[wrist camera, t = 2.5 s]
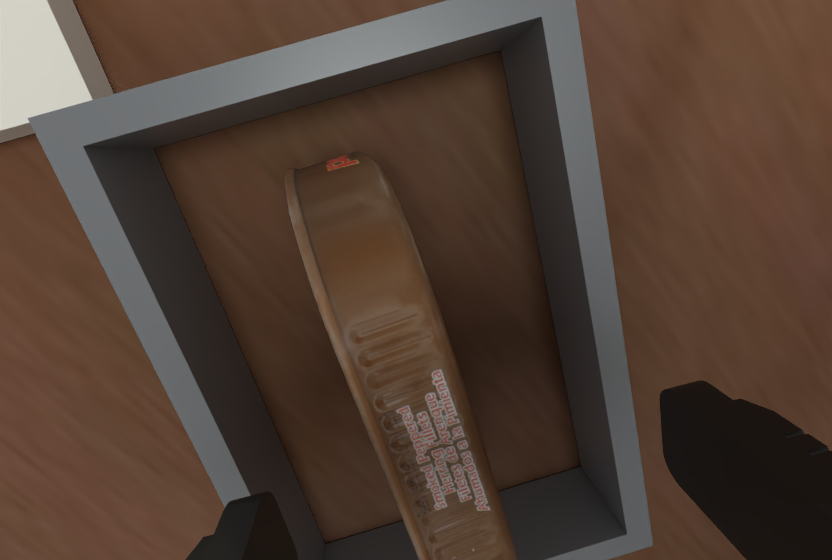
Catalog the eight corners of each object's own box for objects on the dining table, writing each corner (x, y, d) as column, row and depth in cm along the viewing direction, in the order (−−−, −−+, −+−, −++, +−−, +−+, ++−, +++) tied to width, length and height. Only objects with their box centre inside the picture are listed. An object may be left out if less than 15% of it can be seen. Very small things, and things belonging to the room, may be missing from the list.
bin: (521, 12, 16) (570, -35, 12) (603, 476, 22) (653, 545, 18) (113, 127, 15) (27, 118, 11) (312, 565, 21) (299, 654, 18)
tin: (299, 168, 16) (230, 181, 8) (379, 142, 16) (387, 130, 8) (417, 479, 21) (446, 686, 13) (479, 459, 21) (549, 651, 13)
